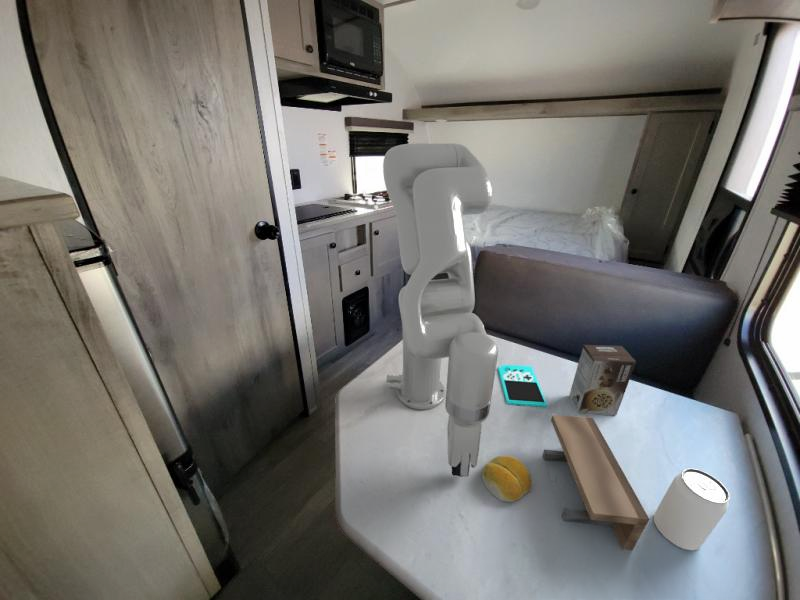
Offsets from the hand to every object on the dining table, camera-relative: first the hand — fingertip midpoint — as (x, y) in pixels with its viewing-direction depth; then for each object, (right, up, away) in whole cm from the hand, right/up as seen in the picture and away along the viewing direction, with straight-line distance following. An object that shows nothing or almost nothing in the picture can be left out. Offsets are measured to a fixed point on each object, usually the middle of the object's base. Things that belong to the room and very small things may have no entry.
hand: (459, 472), depth 63 cm
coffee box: (+36, +7, +18) cm, 41 cm away
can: (+35, -5, -8) cm, 37 cm away
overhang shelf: (+23, -2, -2) cm, 23 cm away
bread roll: (+9, -2, 0) cm, 9 cm away
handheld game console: (+21, +10, +25) cm, 34 cm away
